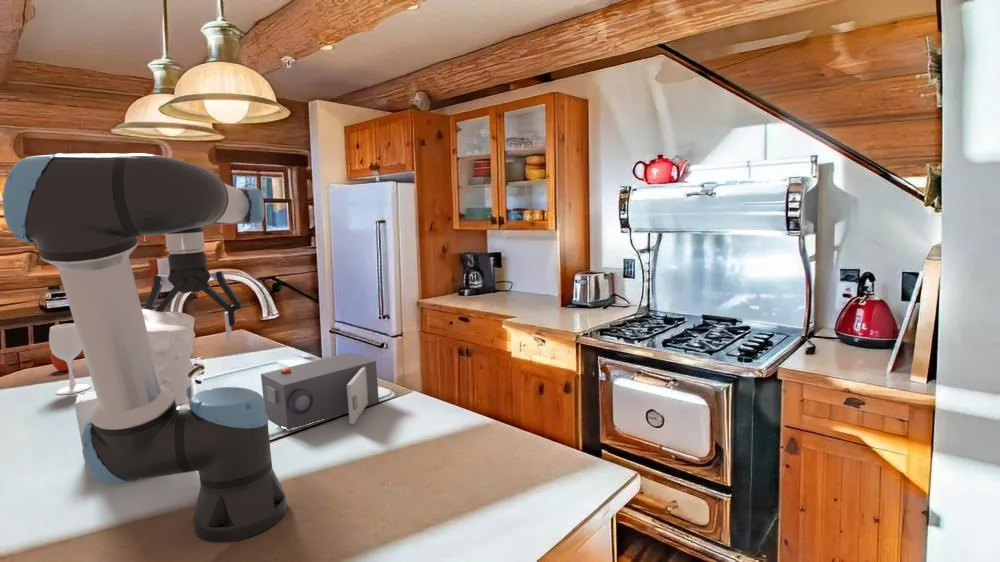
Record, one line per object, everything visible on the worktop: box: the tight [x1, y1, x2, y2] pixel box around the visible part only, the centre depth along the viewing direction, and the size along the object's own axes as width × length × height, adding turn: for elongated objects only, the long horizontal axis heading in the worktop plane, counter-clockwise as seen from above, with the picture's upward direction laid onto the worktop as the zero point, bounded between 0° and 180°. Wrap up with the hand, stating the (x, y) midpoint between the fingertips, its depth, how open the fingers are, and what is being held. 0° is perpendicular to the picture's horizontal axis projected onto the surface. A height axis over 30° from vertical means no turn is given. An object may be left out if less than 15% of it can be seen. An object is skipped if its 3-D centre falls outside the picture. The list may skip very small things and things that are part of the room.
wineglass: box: [48, 322, 91, 396], centre depth 175 cm, size 9×9×21 cm
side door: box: [347, 366, 369, 425], centre depth 144 cm, size 2×15×10 cm, turn 179°
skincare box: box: [74, 390, 99, 467], centre depth 126 cm, size 8×6×15 cm
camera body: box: [260, 351, 380, 429], centre depth 149 cm, size 16×27×13 cm, turn 134°
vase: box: [142, 308, 196, 404], centre depth 119 cm, size 17×16×32 cm
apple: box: [50, 352, 74, 372], centre depth 198 cm, size 6×6×8 cm
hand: (197, 343), depth 129 cm, fingers open, 13 cm apart
